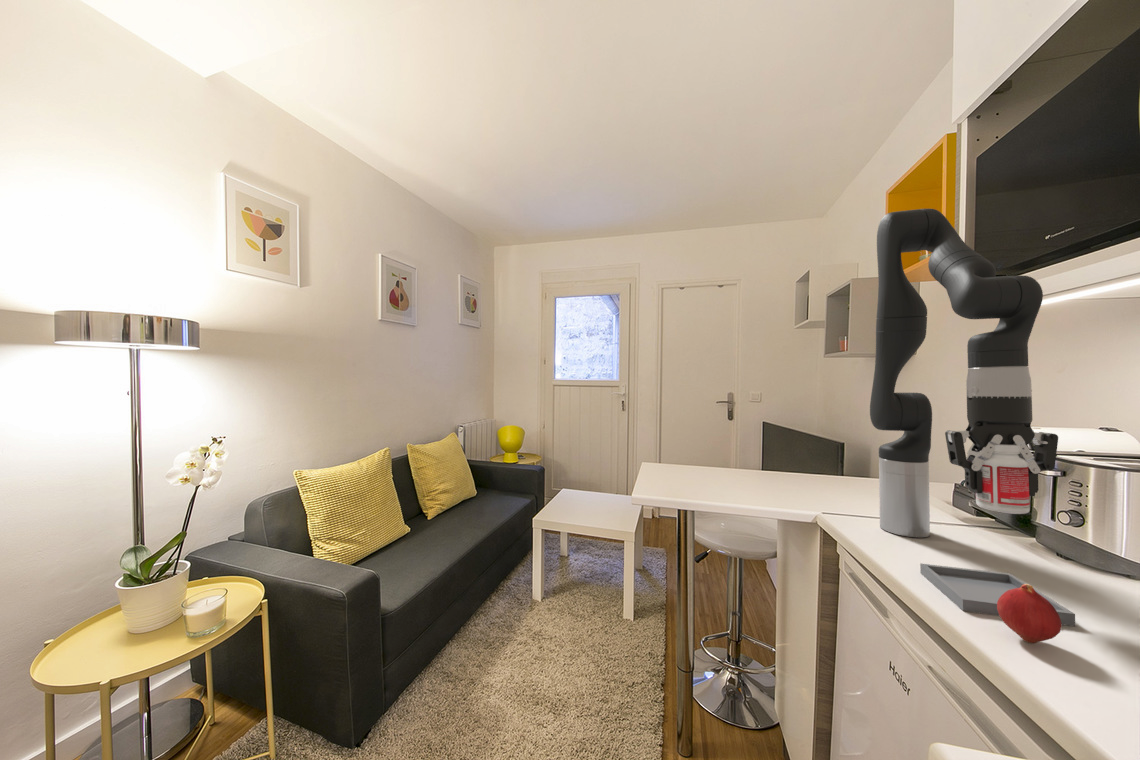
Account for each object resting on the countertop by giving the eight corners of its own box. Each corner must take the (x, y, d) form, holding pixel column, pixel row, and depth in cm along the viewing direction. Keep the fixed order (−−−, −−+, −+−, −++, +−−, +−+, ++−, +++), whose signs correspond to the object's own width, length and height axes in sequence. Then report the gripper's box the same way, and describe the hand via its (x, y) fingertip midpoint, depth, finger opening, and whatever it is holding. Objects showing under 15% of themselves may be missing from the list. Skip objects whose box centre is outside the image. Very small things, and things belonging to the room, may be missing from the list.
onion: (994, 623, 59) (993, 569, 59) (1054, 639, 55) (1053, 581, 55) (1002, 643, 54) (1001, 585, 55) (1068, 662, 51) (1067, 599, 51)
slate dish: (920, 573, 75) (920, 563, 75) (1010, 583, 70) (1010, 573, 70) (962, 610, 62) (962, 599, 62) (1075, 626, 58) (1075, 614, 58)
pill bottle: (1035, 511, 66) (1033, 444, 66) (1022, 517, 63) (1020, 447, 63) (983, 502, 71) (981, 440, 71) (969, 507, 68) (967, 442, 68)
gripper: (1034, 393, 69) (1037, 491, 68) (933, 394, 73) (935, 485, 73) (1074, 394, 62) (1078, 503, 61) (959, 394, 66) (961, 496, 66)
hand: (1000, 493), depth 67 cm, fingers closed on pill bottle, 6 cm apart
